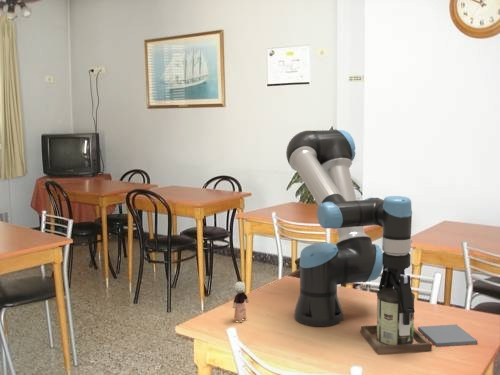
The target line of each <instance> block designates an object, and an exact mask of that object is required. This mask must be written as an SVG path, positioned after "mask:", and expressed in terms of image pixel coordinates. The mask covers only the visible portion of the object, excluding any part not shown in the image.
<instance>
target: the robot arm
mask: <svg viewBox="0 0 500 375" xmlns="http://www.w3.org/2000/svg"><path fill="white" fill-rule="evenodd" d="M355 150H356V144H355V140H354V138H353V137H352V135H351V134H350V133H349V132H348V131H346V130H340V129H329V130H323V129H322V130H303V131H300V132H298V133H296V134H294V136H293V137H292V138H291V139H290V141H289V142H288V144H287V146H286V153H285V154H286V160H287V163H288V165H289V166H290V168H291V169H292V170H294V171H295V172H297V173H298V175H299V176H300V178H301V179H302V182H303V183H304V184H305V187H307V188H306V189H307V190H308V191H309V193H310V195H311V196H312V198H313V199H314V201H315V203H316V204H317V205H318V206H317V209H316V218H317V221H318V224H319V226H320V227H321V228H322V229H334V230H336V232H337V235H338V236H337V237H338V239H337V241H336V243H335V244H334V243H332V242H325V243H324V242H319V243H313V244H310V245H307V246H305V247H304V248H302V250H301V251H300V254H299V256H300V258H299V288H300V289H299V297H298V300H297V302H296V305H295V308H294V319H295V320H296V321H297V322H299V323H301V324H302V325H303V324H304V325H306V326H312V327H330V326H335V325H337V324H338V325H339V324H340V323H341V322H342V321H343V312H344V311H343V309H342V305H341V303H340V300H339V296H338V285H347V284H356V283H357V284H358V283H367V282H371V281H372V282H373V281H375V280H377V279H379V277H380V276H381V277H380V280H379V286H378V291H379V290H382V289H389V288H394V289H395V290H396V292H397V296H398V300H399V304H400V308H401V310H400V311H399V313H400V317H399V335H400V336H407V335H410V313H414V314H415V303H414V304H413V298H412V293H413V291H412V287H411V275H409V274H408V275H406V273H405V270H406V269H409V268H410V266H411V257H412V256H411V254H410V252H411V246H412V245H411V244H413V240H412V239H411V238H412V218H413V217H412V216H413V215H412V214H413V208H412V200H411V198H409V197H407V196H401V195H391V196H390V195H389V196H385V197H384V199H382V198H379V197H371V196H370V197H367V198H365V199H361V200H359V199H358V200H357V197H356V196H357V195H356V192H355V188H354V183H353V180H352V176H351V172H350V167H351V166H352V164H353V161H354V159H355V157H356V151H355ZM368 226H379V227H380V228H381V227H382V244H381V245H382V248H381V247H380V246H379V245H378V244H377V243H373V242H372V238H371V236H370V235H368V234H366V233H365V232H366V231H365V229H364V227H368Z"/></svg>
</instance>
